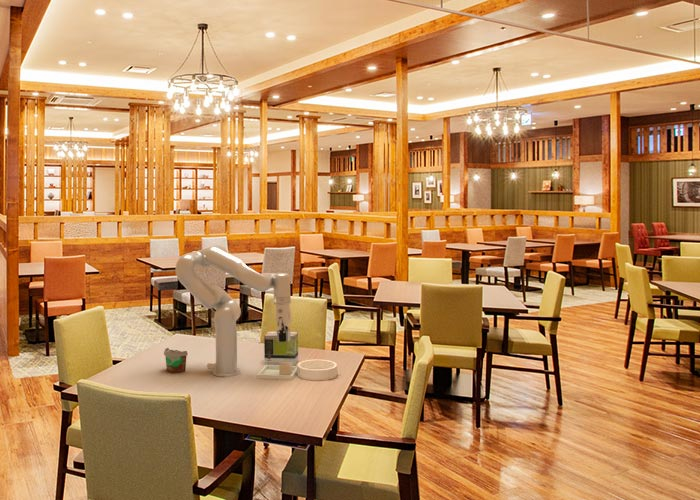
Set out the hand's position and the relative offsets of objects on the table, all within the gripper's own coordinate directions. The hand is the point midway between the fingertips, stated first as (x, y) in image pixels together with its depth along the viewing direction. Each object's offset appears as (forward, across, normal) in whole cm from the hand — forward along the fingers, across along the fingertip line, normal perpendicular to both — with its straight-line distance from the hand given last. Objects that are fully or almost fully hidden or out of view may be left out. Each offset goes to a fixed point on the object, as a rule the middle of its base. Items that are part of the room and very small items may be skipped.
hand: (284, 339), depth 277 cm
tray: (+16, -1, +3) cm, 16 cm away
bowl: (+17, +1, -14) cm, 22 cm away
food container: (+14, -3, +52) cm, 54 cm away
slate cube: (0, 0, 0) cm, 0 cm away
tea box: (+16, +19, +6) cm, 26 cm away
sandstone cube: (+16, -1, 0) cm, 16 cm away
